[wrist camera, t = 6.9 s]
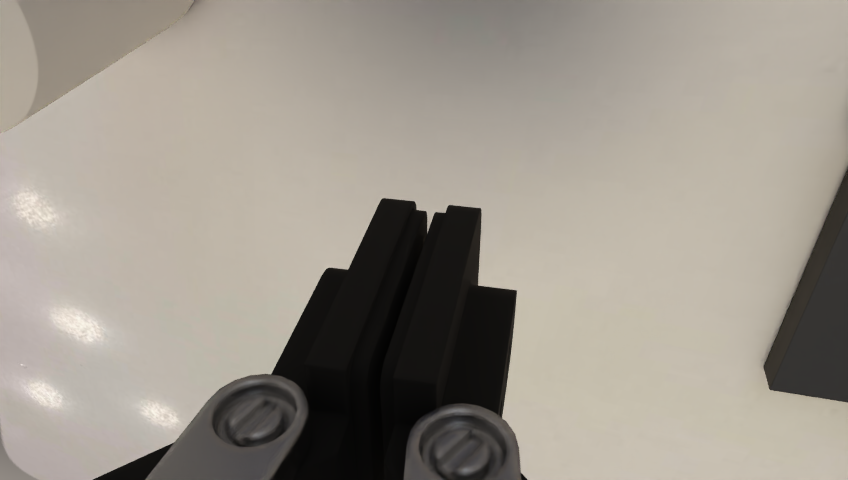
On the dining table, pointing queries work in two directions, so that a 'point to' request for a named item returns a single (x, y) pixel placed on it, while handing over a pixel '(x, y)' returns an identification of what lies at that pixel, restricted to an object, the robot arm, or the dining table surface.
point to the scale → (817, 318)
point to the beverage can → (69, 45)
